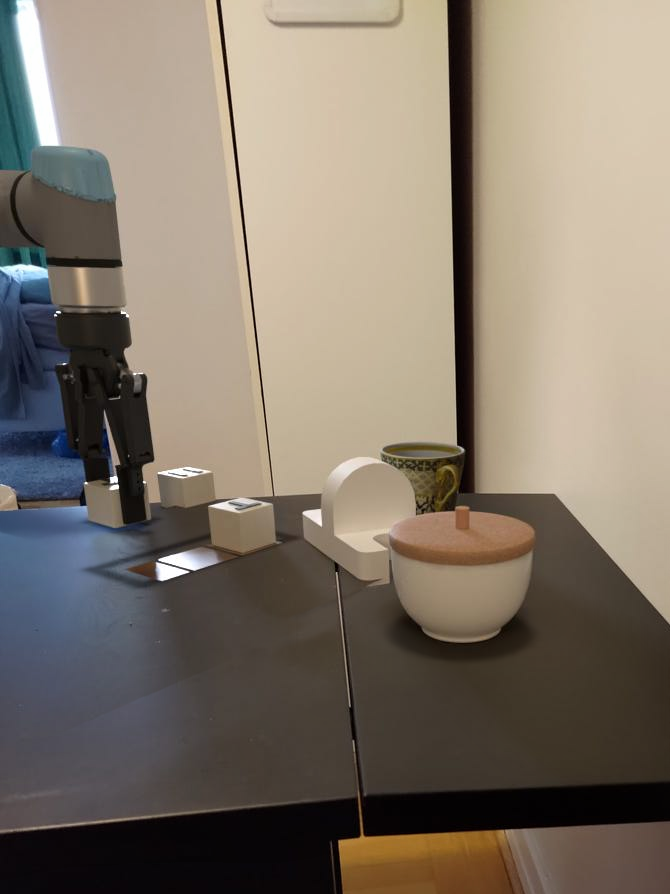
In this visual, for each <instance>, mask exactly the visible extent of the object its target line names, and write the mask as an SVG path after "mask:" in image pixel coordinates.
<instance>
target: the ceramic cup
mask: <svg viewBox="0 0 670 894" xmlns="http://www.w3.org/2000/svg"><path fill="white" fill-rule="evenodd" d="M379 452H380V453H379V454H380V461H383V462H385V463H387V464H389V465H392V466H394V467H396V468H397V469H398V470H400V471H401V472H403V473H404V474H405V476H406V477H407V478H408V480H409V481H410V483H411V485H412V488H413V490H414V494H415V501H416V516H417V515H421V514H428V513H435V512H450V511H455V507H457V506H456V505H457V499H458V495H459V487H460V485H461V481H462V476H463V470H464V466H465V458H466V449H465V448H464V447H462V446H459V445H456V444H453V443H446V442H437V441H407V442H406V441H405V442H396V443H391V444H388V445H385V446H383V447H381V448H380V451H379Z"/></svg>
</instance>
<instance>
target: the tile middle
mask: <svg viewBox="0 0 670 894" xmlns="http://www.w3.org/2000/svg"><path fill="white" fill-rule="evenodd" d="M156 476H157V483H158V491H159V501H160V507H162V508H165V509H167V508H171V507H175V506H176V507H178V508H184V509H187V508H191V507H196V506H199V505H203V504H207V503H211V502H215V501H216V499H217V498H216V490H215V479H214V472H213V471H210V470H205V469H201V468H195V467H190V466H186V467H180V468H175V469H170V470H166V471H161V472H157V473H156Z"/></svg>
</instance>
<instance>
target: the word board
mask: <svg viewBox="0 0 670 894" xmlns="http://www.w3.org/2000/svg"><path fill="white" fill-rule="evenodd" d="M280 544H283V542H282V541H278V540H276V543H273V544H270V545H267V546H263V547H260V548H257V549H254V550H251V551H248V552H244V553H241V552H237V551H233V550H229V549H225V548H221V547H218V546H214V545H212V543H209V544H206V545H205V547H204V546H199V547H195V548H193V549H189V550H185V551H182V552H179V553H176V554H171V555H169V556H165V557H162V558H158V559H156V561H158V562H156V561H153V560H152V561H148V562H145V563H142V564H138V565H135V566H131V567H128V568H125V569H123V571H128V572H131V573H134V574H137V575H140V576H144V577H146V578H151V579H154V580H157V581H161V582H165V581H168V580H171V579H174V578H177V577H178V578H179V577H181V576H183V575H187V574H190V573H191V571H192V572H196V571H199V570H202V569H205V568H209V567H212V566H215V565H218V564H221V563H224V562H228V561H231V560H234V559H236V558H239V557H240V556H247V555H250V554H252V553H256V552H258V551H263V550H265V549H269V548H271V547H275V546H277V545H280ZM160 562H161V563H160ZM167 564H168V565H167ZM174 566H175V567H174Z"/></svg>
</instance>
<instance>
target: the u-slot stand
mask: <svg viewBox="0 0 670 894" xmlns="http://www.w3.org/2000/svg"><path fill="white" fill-rule="evenodd" d="M301 515H302V527H303V528H302V529H303V539H304V540H305V541H306V542H307V543H309V544H311V545H312V546H313V547H315V548H316V549H318V550H319V551H320V552H322V553H323V554H324V555H326V556H327V557H328V558H330V560H332V561H334V562H335V563H336V564H338V565H339V566H341V567H342V568H343V569H345V571H347V572H348V573H350V574H351V575H352V576H354V577H355V578H357V579H358V580H361V581H373V582H371V583H369V584H367V585H365V587H376V586H381V585H388V584H390V582H391V579H390V561H391V546H390V543H389V531H390V528H391V527H392V526H393V525H394V524H395V523H397V522H399V521H401V520H403V519H406V518H409V517H413V516H416V501H415V494H414V490H413V488H412V485H411V483H410V481H409V480H408V478H407V477H406V476H405V474H404V473H403V472H401V471H400V470H398V469H397V468H396V467H394V466H392V465H389V464H387V463H385V462H383V461H381V459H377V458H374V457H372V456H357V457H353V458H350V459H347V460H345V461H344V462H342V463H340V464H339V465H337V467H336V468H335V469H333V470H332V472H331V473H330V475H329V476H328V477H327V479H326V481H325V483H324V484H323V488H322V491H321V495H320V508H317V509H307V510H304V511H302V514H301Z"/></svg>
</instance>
